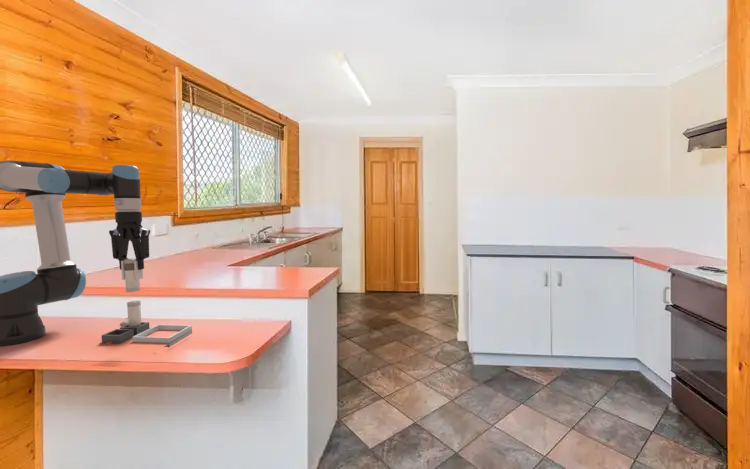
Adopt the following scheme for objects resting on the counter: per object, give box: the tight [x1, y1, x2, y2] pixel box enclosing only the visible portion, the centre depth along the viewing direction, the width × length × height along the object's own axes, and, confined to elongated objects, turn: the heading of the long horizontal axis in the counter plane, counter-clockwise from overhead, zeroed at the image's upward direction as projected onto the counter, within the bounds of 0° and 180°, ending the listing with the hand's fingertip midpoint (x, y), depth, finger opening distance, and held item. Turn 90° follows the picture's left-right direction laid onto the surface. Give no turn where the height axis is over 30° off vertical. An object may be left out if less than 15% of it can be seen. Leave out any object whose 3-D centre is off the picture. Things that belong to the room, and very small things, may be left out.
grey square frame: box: [131, 324, 193, 348], centre depth 129 cm, size 13×13×3 cm
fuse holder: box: [99, 321, 151, 345], centre depth 128 cm, size 7×16×4 cm, turn 176°
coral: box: [120, 317, 128, 327], centre depth 144 cm, size 6×10×4 cm, turn 29°
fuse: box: [126, 300, 142, 327], centre depth 132 cm, size 4×4×11 cm
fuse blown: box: [124, 257, 141, 293], centre depth 124 cm, size 4×4×11 cm
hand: (132, 278), depth 124 cm, fingers closed on fuse blown, 4 cm apart
